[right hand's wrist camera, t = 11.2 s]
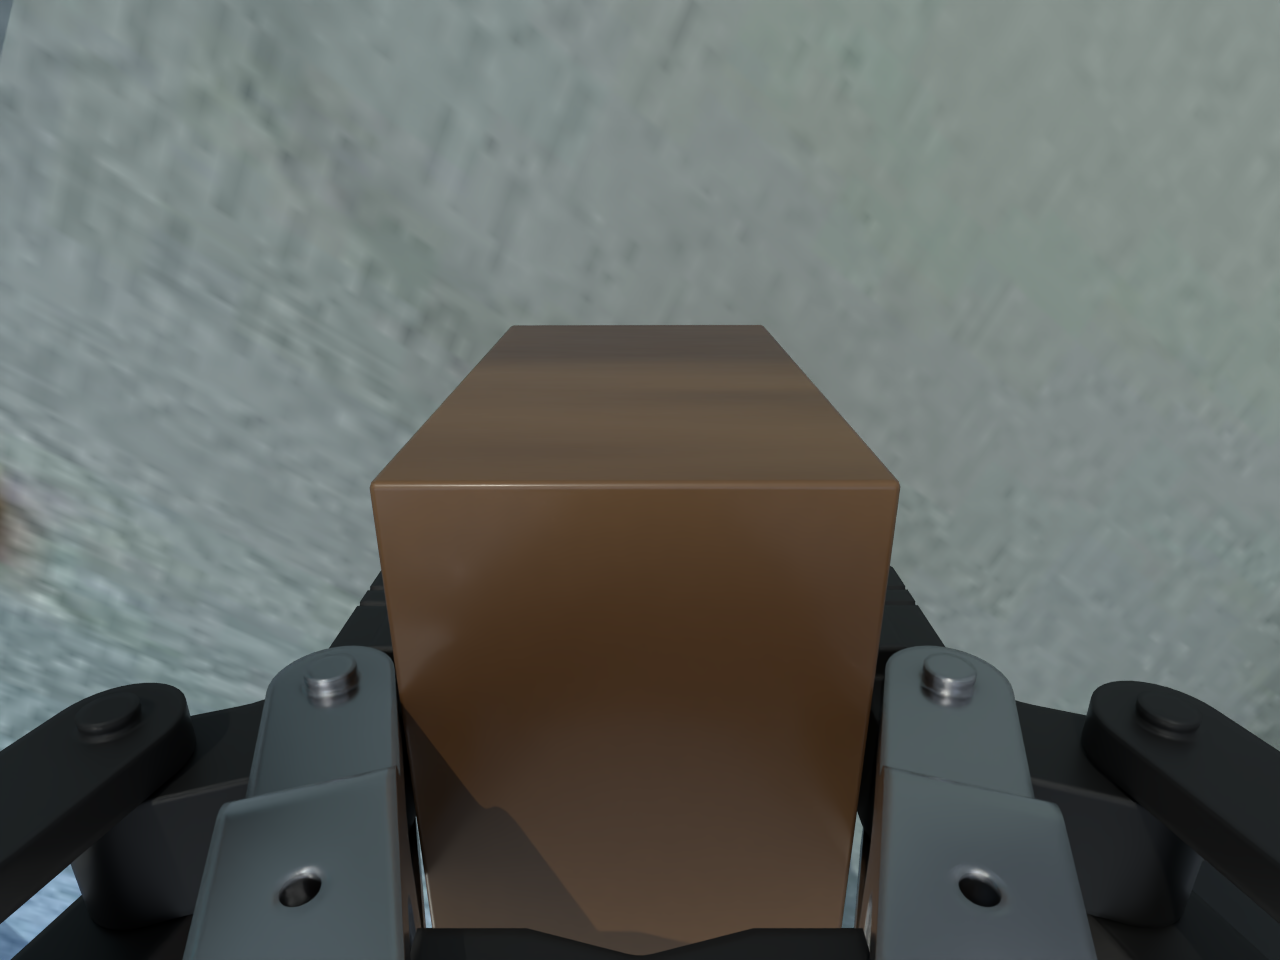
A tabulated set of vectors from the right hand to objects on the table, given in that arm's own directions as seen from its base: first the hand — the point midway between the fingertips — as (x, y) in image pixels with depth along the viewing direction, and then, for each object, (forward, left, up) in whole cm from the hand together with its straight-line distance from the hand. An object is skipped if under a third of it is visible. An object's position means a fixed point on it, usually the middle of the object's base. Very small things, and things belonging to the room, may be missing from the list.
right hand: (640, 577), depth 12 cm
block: (-3, +7, -3) cm, 8 cm away
